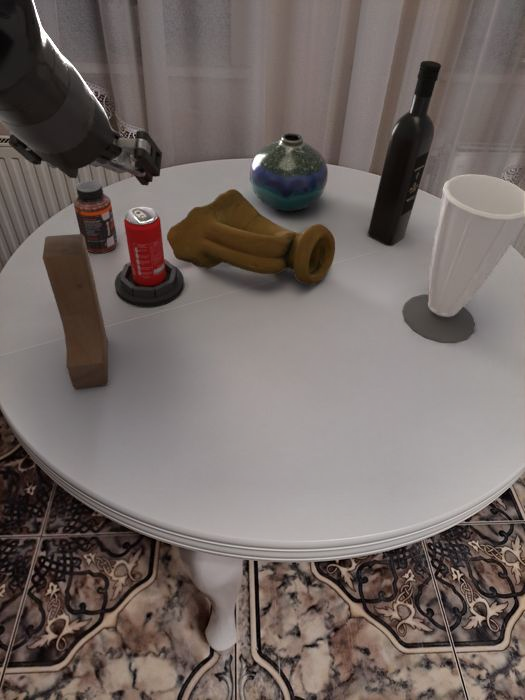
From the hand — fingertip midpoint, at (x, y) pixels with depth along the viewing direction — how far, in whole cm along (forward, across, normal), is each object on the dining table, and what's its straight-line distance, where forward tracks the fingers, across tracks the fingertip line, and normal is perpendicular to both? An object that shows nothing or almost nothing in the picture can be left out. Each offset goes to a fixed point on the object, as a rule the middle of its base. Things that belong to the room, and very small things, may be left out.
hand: (110, 173), depth 60 cm
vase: (+45, -21, -12) cm, 51 cm away
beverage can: (+22, 0, +10) cm, 24 cm away
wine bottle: (+39, -40, -5) cm, 56 cm away
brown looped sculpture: (+28, -16, +5) cm, 33 cm away
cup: (+22, -47, +11) cm, 53 cm away
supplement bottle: (+30, +11, +4) cm, 33 cm away
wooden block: (+10, +4, +23) cm, 26 cm away
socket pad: (+23, 0, +10) cm, 25 cm away
